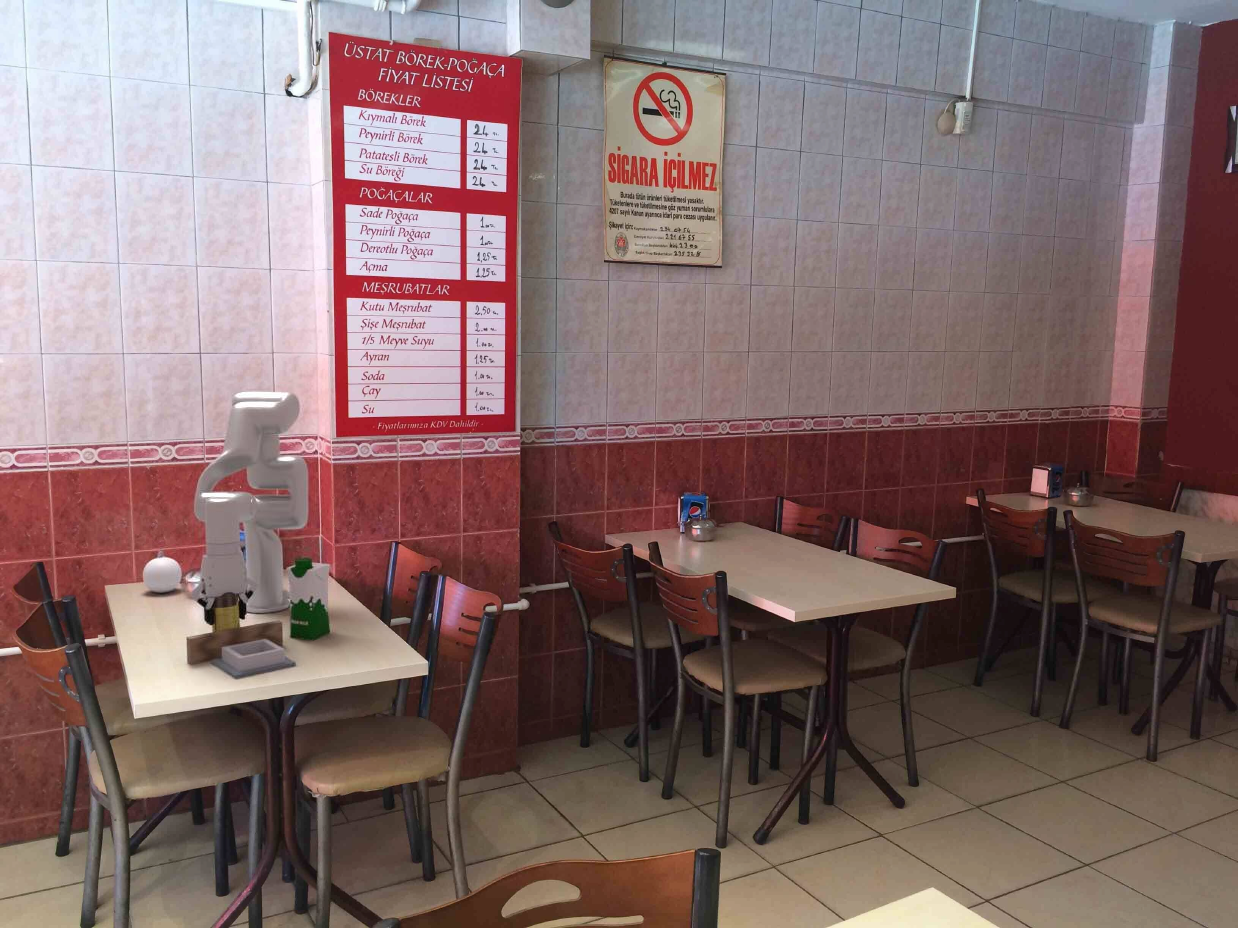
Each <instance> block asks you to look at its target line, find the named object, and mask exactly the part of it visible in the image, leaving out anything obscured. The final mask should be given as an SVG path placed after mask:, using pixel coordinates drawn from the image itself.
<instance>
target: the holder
mask: <svg viewBox="0 0 1238 928" xmlns="http://www.w3.org/2000/svg"><path fill="white" fill-rule="evenodd" d="M285 650H286V649H285V648H284V647H282V646H278V645H276V644H274V643H272V642H271V641H269V640H267V639H262V640H257V641H252V642H247V643H242V644H237V645H231V646H226V647H222V658H217V659H212V660H210V661H211V664H212V665H214V666H215V667H217V668H218V669H219V670H221V671H223V672H224V673H225V674H227V675H228V676H230V677H232V678H233V679H236V680H237V679H242V678H245V677H251V676H254V675H259V674H264V673H268V672H272V671H278V670H282V669H287V668H292V667H295V666H297V662H296V661H295V660H293V659H291V658H289V657H287V656H286V652H285Z"/></svg>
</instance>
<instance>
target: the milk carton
mask: <svg viewBox="0 0 1238 928" xmlns="http://www.w3.org/2000/svg"><path fill="white" fill-rule="evenodd" d="M330 569H331V564H329V563H323V562H322V563H321V562H320V563H319V562H313V559H312V558H311V557H299V558H296V559H295V560H294V565H291V566H289V567H288V566H287V567H286V572H287V573H286V574H287V577H288V581H289V590H290V599H289V602H290V606H289V609H290V611H289V612H290V613H289V614H290V616H289V617H290V618H289V621H290V622H289V624H290V625H289V626H290V627H289V637H290V638H293V639H300V640H309V641H316V640H317V639H319V638H322V637H325V636H326V635H329V634H330V633H331V626H330V617H329V590H328V588H329V584H328V583H329V575H330Z"/></svg>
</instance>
